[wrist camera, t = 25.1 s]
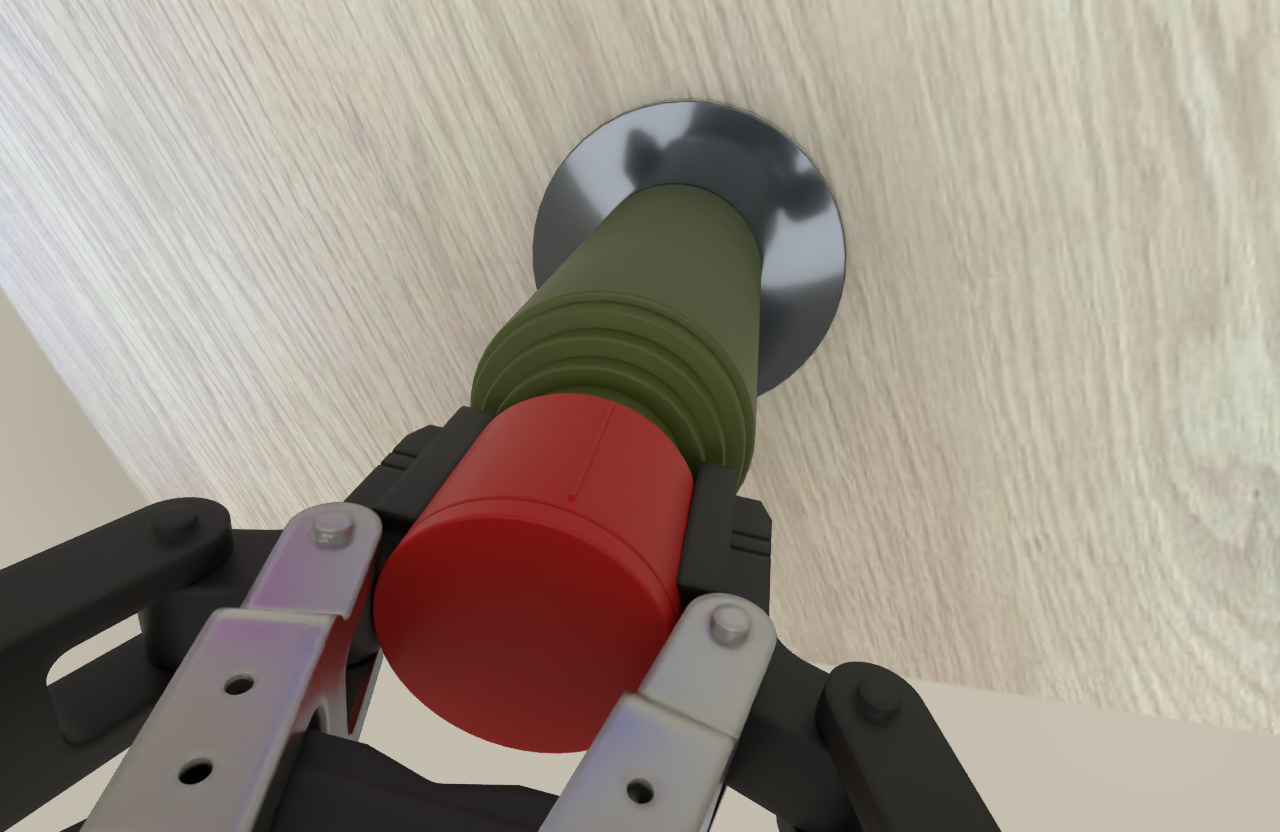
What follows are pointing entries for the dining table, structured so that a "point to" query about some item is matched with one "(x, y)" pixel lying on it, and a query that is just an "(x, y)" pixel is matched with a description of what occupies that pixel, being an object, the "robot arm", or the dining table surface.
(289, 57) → the dining table surface
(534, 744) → the bottle cap
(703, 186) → the coaster
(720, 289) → the bottle
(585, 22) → the dining table surface
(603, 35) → the dining table surface
